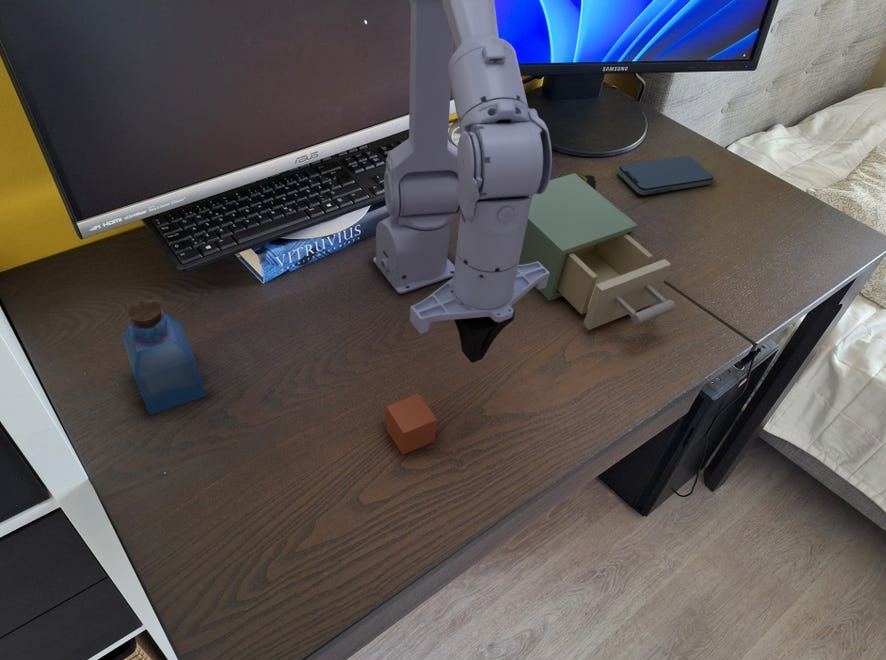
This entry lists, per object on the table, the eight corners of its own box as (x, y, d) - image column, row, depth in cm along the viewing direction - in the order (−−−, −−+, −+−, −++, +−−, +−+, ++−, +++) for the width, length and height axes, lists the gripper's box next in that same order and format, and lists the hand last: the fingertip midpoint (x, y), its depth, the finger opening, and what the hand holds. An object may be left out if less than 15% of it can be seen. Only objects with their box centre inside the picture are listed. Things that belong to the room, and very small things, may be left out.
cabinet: (620, 274, 95) (638, 225, 88) (549, 301, 90) (562, 250, 84) (562, 222, 102) (574, 172, 96) (493, 244, 98) (502, 193, 91)
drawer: (679, 325, 87) (698, 286, 82) (612, 354, 83) (627, 315, 78) (595, 250, 97) (607, 210, 92) (532, 272, 92) (541, 232, 87)
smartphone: (716, 178, 111) (642, 189, 106) (712, 186, 112) (639, 198, 108) (689, 154, 116) (617, 164, 111) (685, 163, 117) (614, 173, 112)
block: (402, 455, 72) (403, 433, 69) (385, 428, 74) (386, 406, 71) (434, 441, 74) (437, 419, 71) (417, 415, 76) (418, 393, 73)
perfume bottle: (191, 359, 79) (168, 282, 70) (206, 396, 76) (183, 320, 67) (137, 376, 77) (106, 299, 68) (149, 414, 74) (118, 339, 65)
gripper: (441, 304, 55) (431, 406, 65) (579, 254, 60) (550, 356, 70) (400, 254, 59) (397, 358, 69) (533, 212, 64) (512, 314, 74)
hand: (472, 354), depth 70 cm, fingers closed
